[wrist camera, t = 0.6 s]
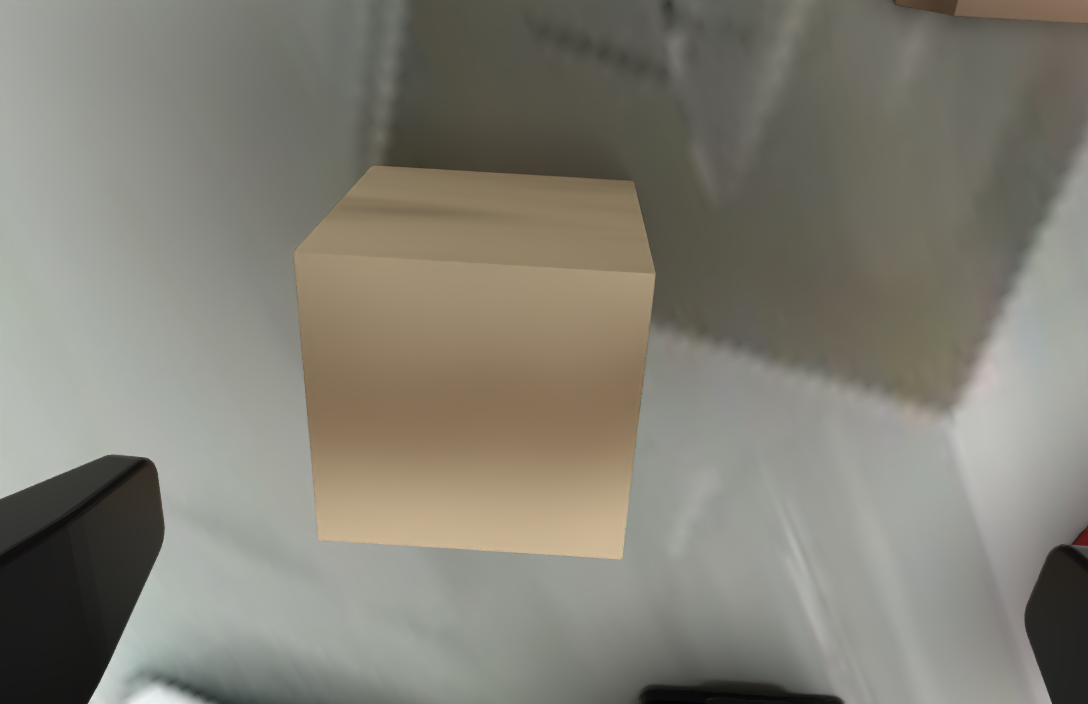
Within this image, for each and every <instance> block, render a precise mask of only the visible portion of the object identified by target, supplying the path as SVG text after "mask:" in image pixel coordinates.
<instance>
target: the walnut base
mask: <svg viewBox="0 0 1088 704" xmlns="http://www.w3.org/2000/svg"><path fill="white" fill-rule="evenodd" d="M895 4H896V5H901V6H906V7H911V8H917V9H922V10H927V11H932V12H937V13H943V14H948V15H953V16H968V17H985V18H1003V19H1020V20H1038V21H1056V22H1073V23H1088V0H896V2H895Z"/></svg>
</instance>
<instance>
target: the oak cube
mask: <svg viewBox="0 0 1088 704" xmlns="http://www.w3.org/2000/svg"><path fill="white" fill-rule="evenodd" d="M293 255H294V266H295V277H296V289H297V300H298V312H299V323H300V335H301V346H302V358H303V369H304V380H305V392H306V403H307V415H308V426H309V438H310V449H311V460H312V472H313V483H314V495H315V506H316V518H317V529H318V540H325V541H341V542H357V543H372V544H388V545H404V546H420V547H435V548H451V549H467V550H482V551H498V552H514V553H530V554H545V555H561V556H577V557H592V558H608V559H622V555H623V547H624V538H625V530H626V522H627V513H628V505H629V496H630V488H631V479H632V471H633V462H634V454H635V446H636V437H637V429H638V420H639V412H640V403H641V395H642V386H643V378H644V370H645V361H646V353H647V344H648V336H649V327H650V319H651V310H652V302H653V293H654V285H655V277H656V273H655V268H654V264H653V260H652V256H651V252H650V247H649V243H648V239H647V235H646V231H645V226H644V222H643V218H642V214H641V210H640V205H639V201H638V197H637V193H636V189H635V184H634V181H626V180H609V179H592V178H576V177H559V176H542V175H526V174H509V173H492V172H476V171H459V170H442V169H426V168H409V167H392V166H375V165H372V166H371V167H370V168H369V169H368V171H367V172H366V173H365V174H364V175H363V176H362V177H361V178H360V179H359V180H358V182H357V183H356V184H355V185H354V186H353V187H352V188H351V189H350V190H349V191H348V193H347V194H346V195H345V196H344V197H343V198H342V199H341V200H340V201H339V202H338V203H337V205H336V206H335V207H334V208H333V209H332V210H331V211H330V212H329V213H328V214H327V216H326V217H325V218H324V219H323V220H322V221H321V222H320V223H319V224H318V225H317V227H316V228H315V229H314V230H313V231H312V232H311V233H310V234H309V235H308V236H307V237H306V239H305V240H304V241H303V242H302V243H301V244H300V245H299V246H298V247H297V248H296V250H295V251H294V252H293Z"/></svg>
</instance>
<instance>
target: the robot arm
mask: <svg viewBox="0 0 1088 704" xmlns="http://www.w3.org/2000/svg"><path fill="white" fill-rule="evenodd" d="M164 530H165V526H164V517H163V509H162V502H161V494H160V487H159V480H158V473H157V469H156V467H155V465H154V463H153V462H152V461H151V460H150V459H148V458H145V457H135V456H124V455H107V456H104V457H101V458H99V459H97V460H94V461H92V462H89V463H87V464H84V465H82V466H80V467H77V468H75V469H72V470H70V471H68V472H65V473H63V474H60V475H58V476H55V477H53V478H51V479H48V480H46V481H43V482H41V483H38V484H36V485H34V486H31V487H29V488H26V489H24V490H21V491H19V492H17V493H14V494H12V495H9V496H7V497H4V498H2V499H0V704H88V702H89V701H90V699H91V697H92V695H93V693H94V692H95V690H96V688H97V686H98V684H99V683H100V680H101V678H102V676H103V674H104V672H105V670H106V668H107V666H108V664H109V662H110V660H111V658H112V656H113V653H114V651H115V649H116V647H117V645H118V642H119V640H120V638H121V636H122V634H123V631H124V629H125V627H126V625H127V623H128V620H129V618H130V616H131V614H132V612H133V609H134V607H135V605H136V603H137V601H138V598H139V596H140V594H141V592H142V590H143V587H144V585H145V583H146V581H147V579H148V576H149V574H150V572H151V570H152V567H153V565H154V563H155V561H156V559H157V556H158V554H159V552H160V549H161V547H162V543H163V539H164ZM1025 628H1026V632H1027V636H1028V639H1029V641H1030V644H1031V647H1032V650H1033V652H1034V655H1035V658H1036V661H1037V663H1038V666H1039V669H1040V671H1041V674H1042V677H1043V680H1044V682H1045V685H1046V688H1047V691H1048V693H1049V696H1050V699H1051V702H1052V704H1088V546H1080V545H1069V544H1061V545H1058V546H1056V547H1054V548H1053V549H1052V550H1051V551H1050V552H1049V554H1048V556H1047V558H1046V560H1045V562H1044V565H1043V567H1042V570H1041V572H1040V574H1039V577H1038V579H1037V581H1036V584H1035V586H1034V589H1033V591H1032V593H1031V596H1030V598H1029V600H1028V603H1027V605H1026V609H1025ZM639 704H843V703H841V702H837V701H827V700H812V699H797V698H781V697H766V696H751V695H735V694H720V693H705V692H690V691H674V690H659V689H655V690H649V691H646V692H644V693H643V694H642V695H641V696H640V699H639Z"/></svg>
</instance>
